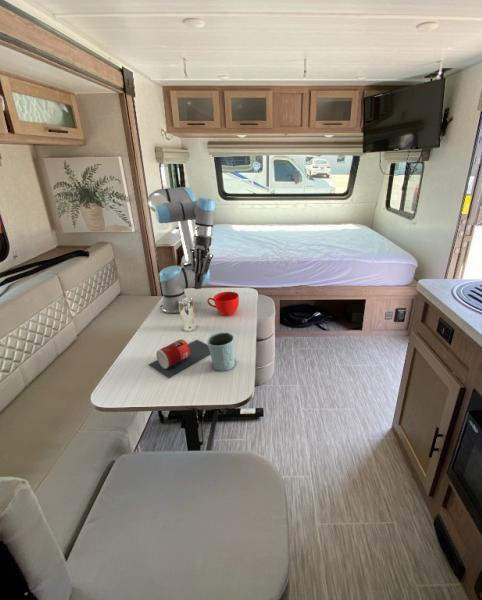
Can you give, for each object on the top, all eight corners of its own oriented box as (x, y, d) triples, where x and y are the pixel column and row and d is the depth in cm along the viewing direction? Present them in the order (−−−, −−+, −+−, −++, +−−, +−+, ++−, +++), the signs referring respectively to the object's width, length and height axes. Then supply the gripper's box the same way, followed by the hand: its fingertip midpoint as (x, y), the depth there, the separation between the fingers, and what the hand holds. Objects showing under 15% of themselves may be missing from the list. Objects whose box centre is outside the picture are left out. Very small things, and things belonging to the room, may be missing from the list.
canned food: (186, 338, 130) (162, 350, 123) (193, 356, 132) (170, 369, 124) (176, 339, 136) (153, 350, 128) (183, 356, 137) (161, 368, 129)
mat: (196, 340, 147) (196, 339, 147) (217, 350, 139) (217, 349, 139) (149, 365, 131) (149, 364, 131) (168, 377, 122) (168, 377, 122)
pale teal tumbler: (241, 361, 130) (238, 335, 126) (225, 375, 122) (222, 348, 118) (221, 355, 135) (218, 330, 130) (205, 368, 127) (201, 341, 123)
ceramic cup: (212, 308, 180) (210, 291, 176) (242, 308, 178) (240, 291, 174) (205, 318, 168) (203, 301, 164) (237, 318, 166) (235, 301, 162)
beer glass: (189, 323, 163) (185, 296, 157) (199, 326, 160) (195, 298, 154) (179, 329, 158) (174, 301, 152) (190, 332, 155) (185, 304, 149)
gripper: (186, 232, 139) (181, 285, 145) (206, 238, 131) (200, 293, 138) (199, 233, 145) (194, 283, 151) (220, 238, 137) (213, 291, 144)
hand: (197, 288), depth 145 cm, fingers closed
